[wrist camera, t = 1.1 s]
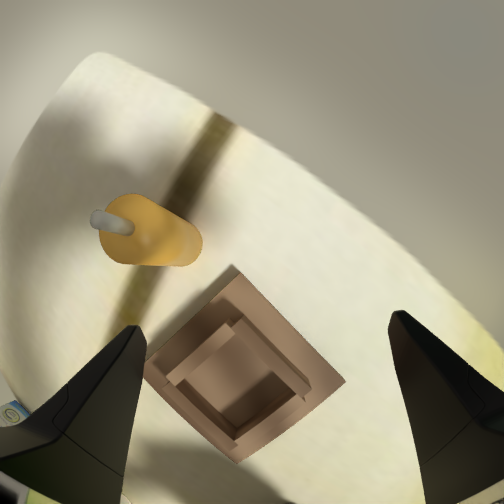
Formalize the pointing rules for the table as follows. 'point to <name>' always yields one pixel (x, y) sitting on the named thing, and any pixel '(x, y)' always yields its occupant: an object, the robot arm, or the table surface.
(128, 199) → the yellow cylindrical piece
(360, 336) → the table surface
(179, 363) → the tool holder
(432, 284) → the table surface
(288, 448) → the table surface
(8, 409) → the medicine box
